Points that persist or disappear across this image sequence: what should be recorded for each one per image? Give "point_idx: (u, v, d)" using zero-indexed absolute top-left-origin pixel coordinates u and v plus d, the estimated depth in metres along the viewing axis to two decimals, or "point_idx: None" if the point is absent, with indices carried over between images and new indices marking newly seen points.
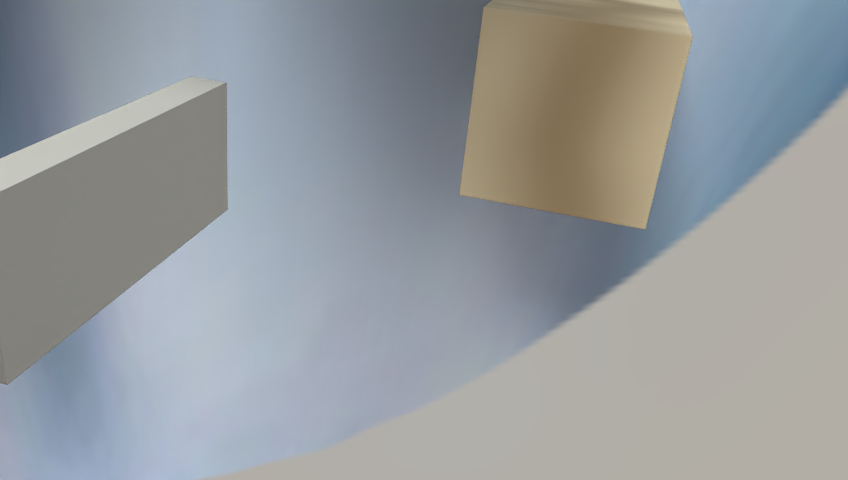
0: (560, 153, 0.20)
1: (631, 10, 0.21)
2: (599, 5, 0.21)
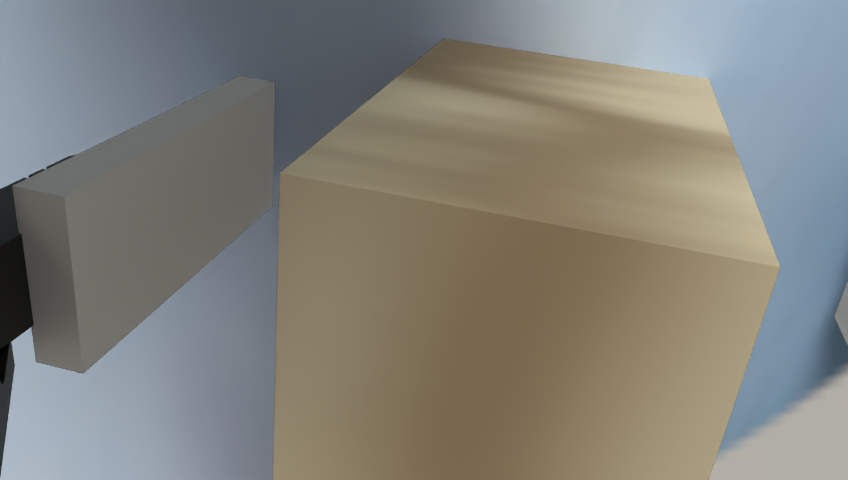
0: (472, 476, 0.09)
1: (628, 147, 0.10)
2: (562, 134, 0.10)
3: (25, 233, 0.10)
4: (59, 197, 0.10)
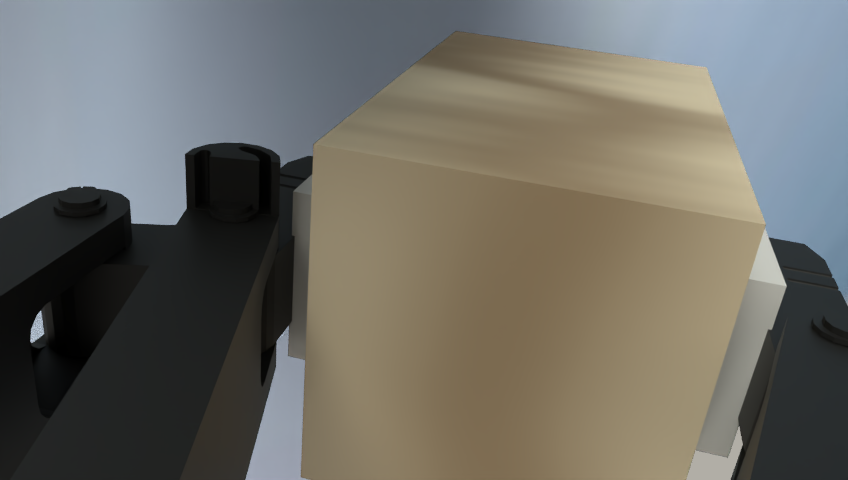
0: (488, 425, 0.10)
1: (629, 125, 0.11)
2: (568, 114, 0.11)
3: (297, 235, 0.11)
4: None
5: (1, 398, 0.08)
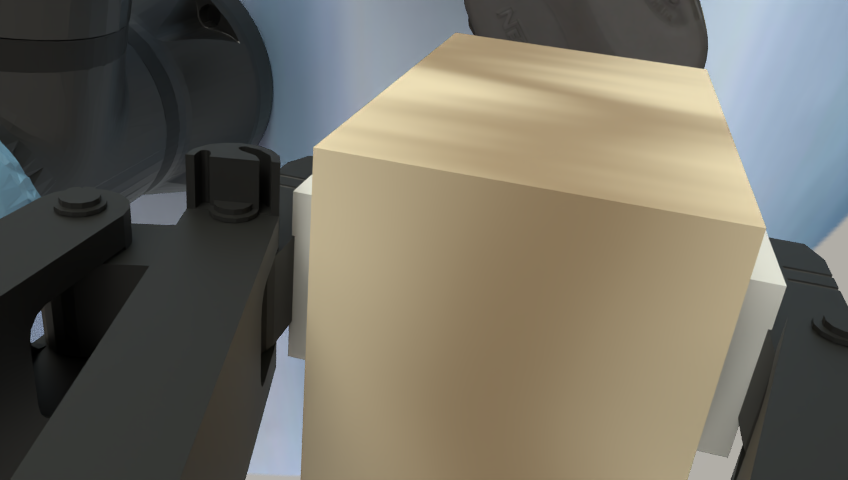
0: (487, 428, 0.10)
1: (630, 128, 0.11)
2: (569, 116, 0.11)
3: (297, 235, 0.11)
4: None
5: (1, 398, 0.08)
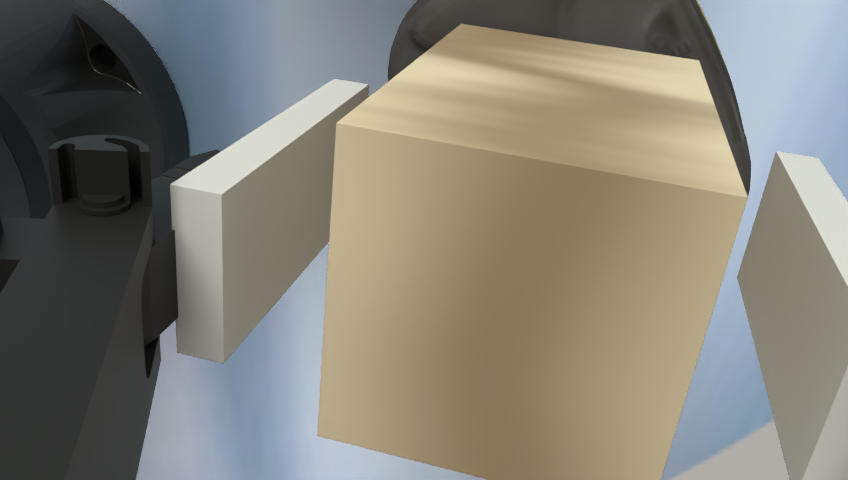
0: (492, 385, 0.11)
1: (626, 111, 0.12)
2: (569, 100, 0.12)
3: (178, 229, 0.11)
4: (215, 195, 0.11)
5: None
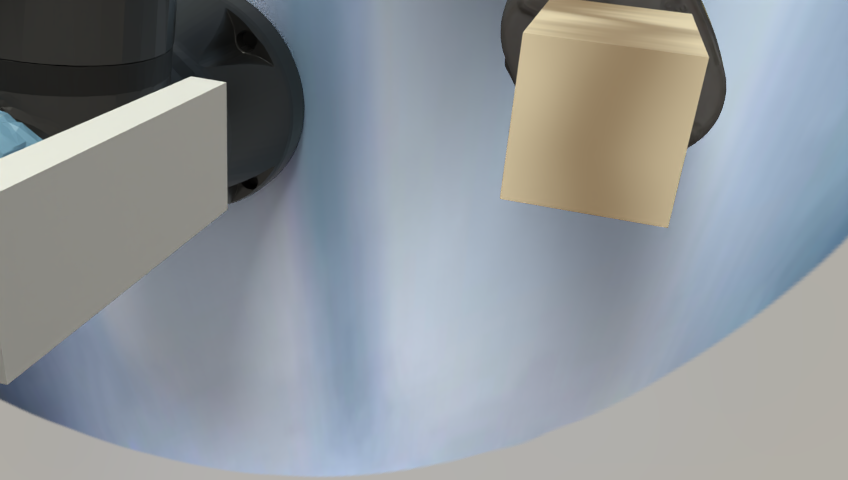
0: (591, 160, 0.23)
1: (653, 32, 0.24)
2: (624, 27, 0.24)
3: None
4: None
5: None
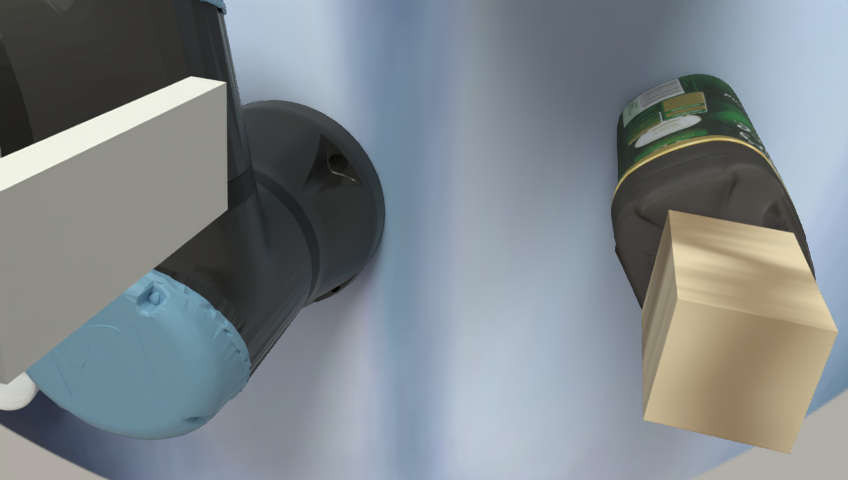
0: (728, 398, 0.27)
1: (776, 281, 0.28)
2: (751, 275, 0.28)
3: None
4: None
5: None
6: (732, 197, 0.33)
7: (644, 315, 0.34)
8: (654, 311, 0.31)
